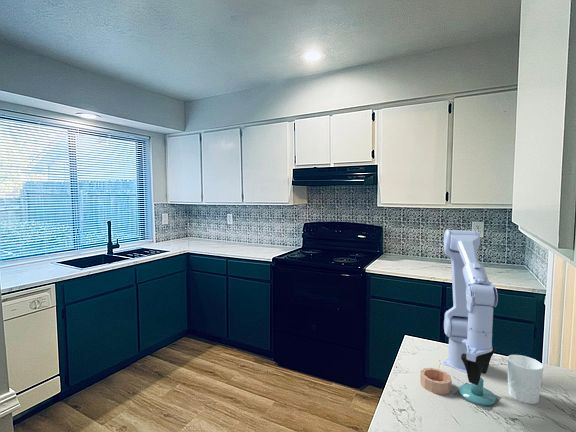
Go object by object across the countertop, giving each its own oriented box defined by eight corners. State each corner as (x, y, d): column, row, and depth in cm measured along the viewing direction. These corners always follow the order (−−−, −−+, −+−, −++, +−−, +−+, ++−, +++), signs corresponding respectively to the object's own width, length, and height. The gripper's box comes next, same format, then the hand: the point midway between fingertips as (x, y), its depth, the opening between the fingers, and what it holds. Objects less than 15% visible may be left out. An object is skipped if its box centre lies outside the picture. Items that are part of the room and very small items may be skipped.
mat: (466, 383, 94) (466, 382, 94) (501, 398, 87) (501, 397, 87) (452, 395, 89) (452, 394, 89) (489, 412, 82) (489, 411, 82)
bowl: (428, 375, 98) (429, 365, 98) (455, 387, 92) (456, 376, 92) (415, 385, 93) (415, 374, 93) (442, 399, 87) (443, 386, 87)
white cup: (548, 408, 84) (550, 371, 83) (514, 404, 85) (515, 367, 85) (531, 390, 91) (533, 356, 91) (500, 387, 93) (502, 353, 92)
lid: (466, 383, 94) (467, 367, 94) (500, 397, 87) (501, 380, 87) (453, 394, 89) (454, 377, 88) (488, 410, 82) (489, 392, 82)
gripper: (471, 317, 95) (469, 362, 96) (454, 331, 85) (452, 382, 85) (499, 324, 90) (497, 371, 91) (485, 340, 80) (483, 393, 80)
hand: (477, 377), depth 88 cm, fingers open, 7 cm apart
